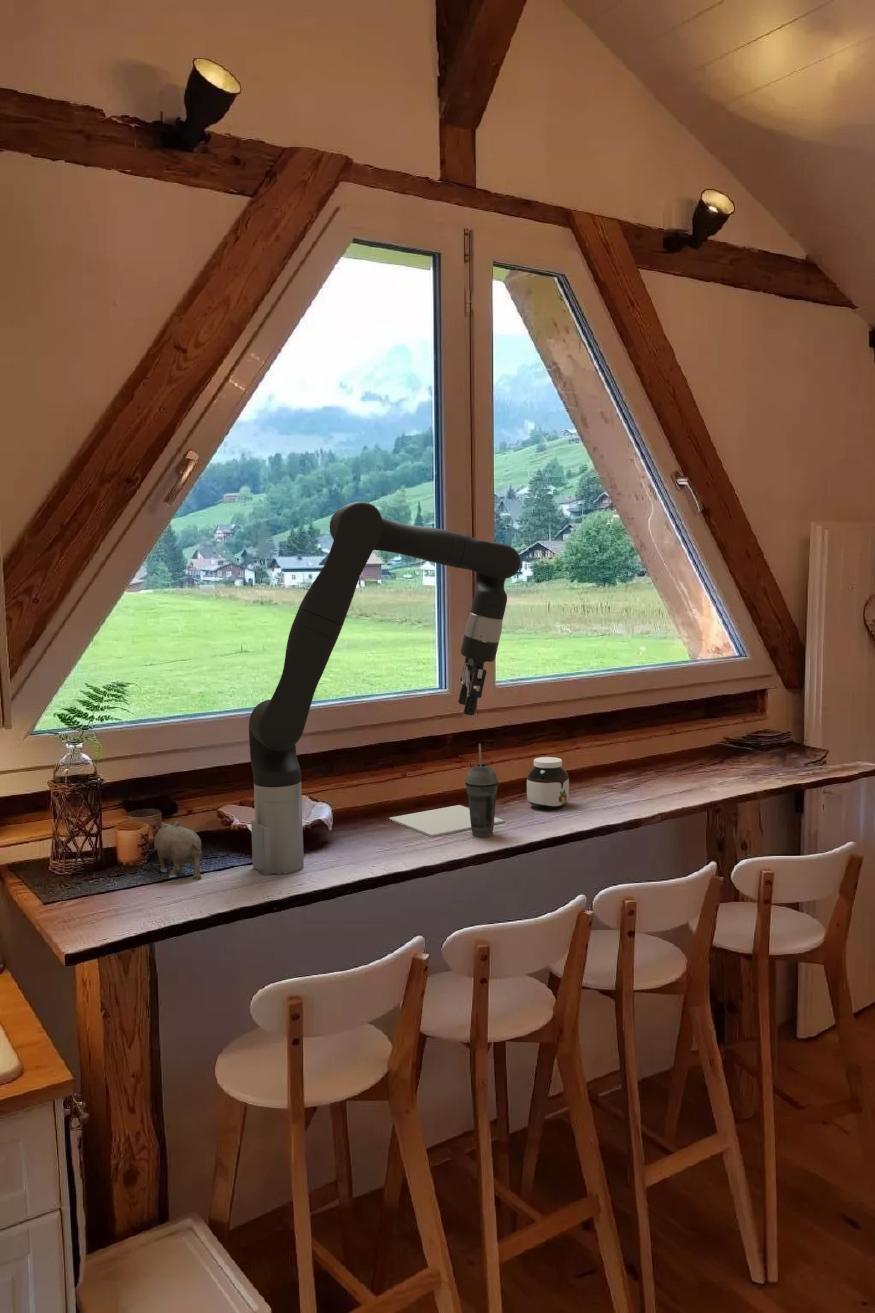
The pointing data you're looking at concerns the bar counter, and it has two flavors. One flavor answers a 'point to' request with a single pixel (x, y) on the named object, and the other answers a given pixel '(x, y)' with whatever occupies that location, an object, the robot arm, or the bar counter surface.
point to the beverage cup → (481, 798)
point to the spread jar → (547, 784)
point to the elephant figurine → (178, 847)
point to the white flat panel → (439, 820)
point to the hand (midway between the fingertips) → (465, 709)
